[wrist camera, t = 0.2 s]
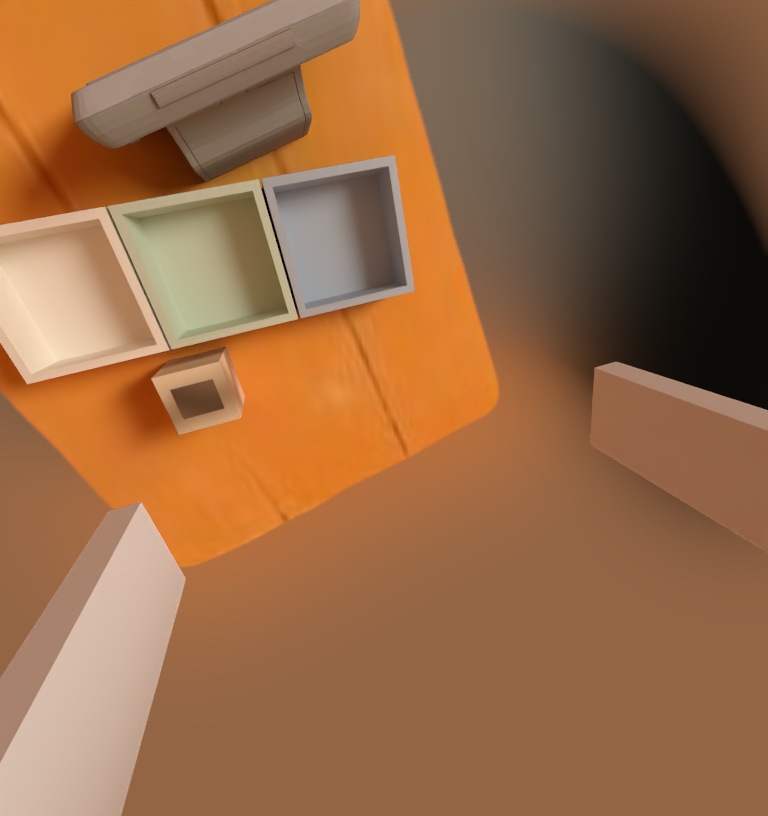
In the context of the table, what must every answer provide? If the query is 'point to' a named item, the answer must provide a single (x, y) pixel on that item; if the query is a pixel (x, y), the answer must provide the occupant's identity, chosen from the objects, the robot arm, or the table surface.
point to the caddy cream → (72, 296)
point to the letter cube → (200, 390)
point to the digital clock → (221, 85)
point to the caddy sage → (207, 261)
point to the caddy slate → (341, 234)
